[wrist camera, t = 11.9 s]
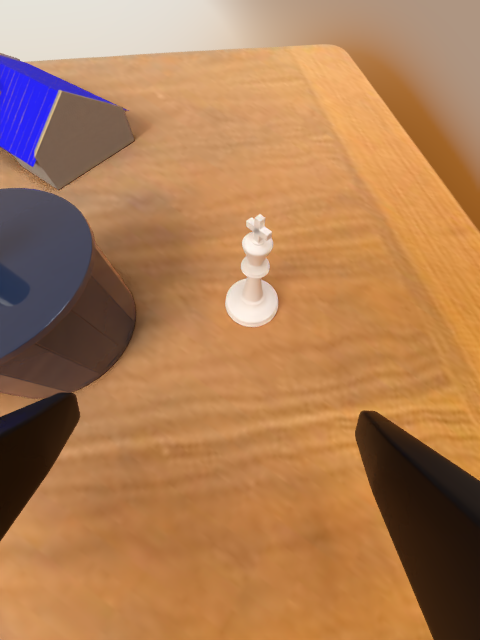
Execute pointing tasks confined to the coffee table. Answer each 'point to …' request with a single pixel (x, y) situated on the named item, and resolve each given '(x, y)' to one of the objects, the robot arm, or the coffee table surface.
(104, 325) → the pot
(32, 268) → the pot lid
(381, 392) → the coffee table surface
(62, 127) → the toy house
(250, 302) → the chess piece
